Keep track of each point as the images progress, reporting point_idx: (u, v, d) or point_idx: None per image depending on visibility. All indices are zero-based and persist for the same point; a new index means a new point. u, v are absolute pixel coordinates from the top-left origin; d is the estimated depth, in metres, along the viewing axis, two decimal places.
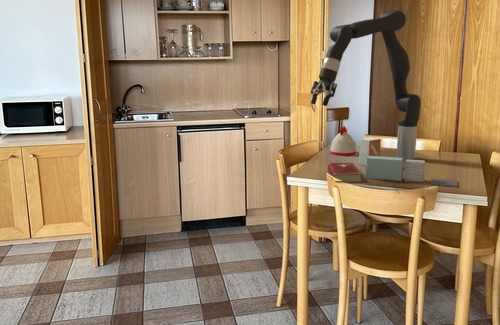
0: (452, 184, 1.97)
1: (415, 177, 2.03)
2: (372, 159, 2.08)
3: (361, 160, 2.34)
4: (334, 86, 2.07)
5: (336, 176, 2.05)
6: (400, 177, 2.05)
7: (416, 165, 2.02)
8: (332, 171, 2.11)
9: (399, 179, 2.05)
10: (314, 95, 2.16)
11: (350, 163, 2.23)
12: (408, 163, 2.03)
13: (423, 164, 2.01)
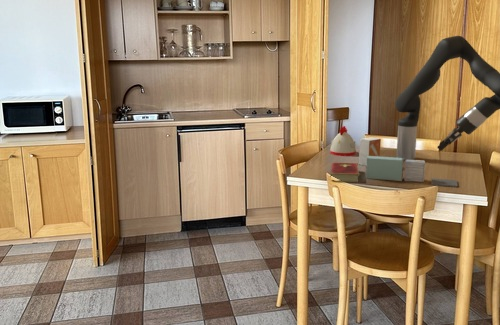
0: (452, 184, 1.97)
1: (415, 177, 2.03)
2: (372, 159, 2.08)
3: (361, 160, 2.34)
4: None
5: (333, 175, 2.06)
6: (400, 177, 2.05)
7: (416, 165, 2.02)
8: (331, 170, 2.12)
9: (399, 179, 2.05)
10: None
11: (354, 163, 2.22)
12: (408, 163, 2.03)
13: (423, 164, 2.01)
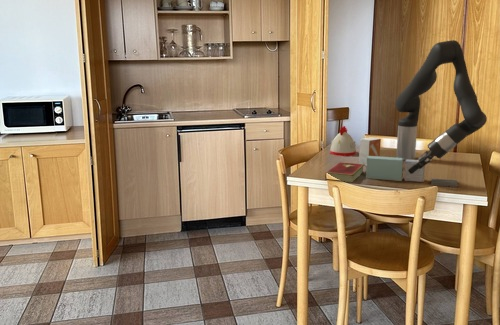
0: (452, 184, 1.97)
1: (414, 176, 2.03)
2: (372, 159, 2.08)
3: (361, 160, 2.34)
4: None
5: None
6: (400, 177, 2.05)
7: None
8: (330, 170, 2.13)
9: (399, 179, 2.05)
10: None
11: (359, 164, 2.20)
12: (408, 163, 2.03)
13: None
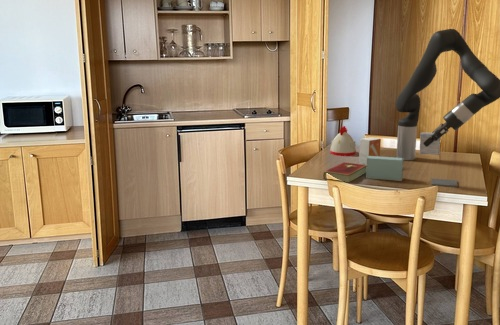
0: (452, 184, 1.97)
1: (430, 149, 1.98)
2: (372, 159, 2.08)
3: (361, 160, 2.34)
4: None
5: None
6: (400, 177, 2.05)
7: None
8: (329, 169, 2.14)
9: (399, 179, 2.05)
10: None
11: (362, 165, 2.19)
12: (423, 135, 1.98)
13: None
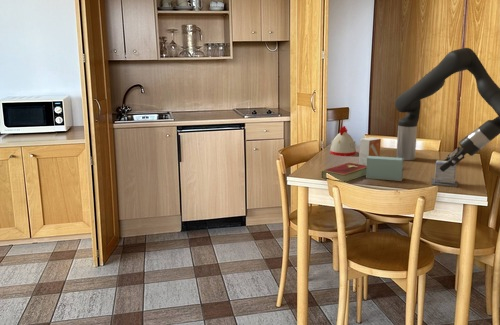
0: (452, 184, 1.97)
1: (445, 178, 1.98)
2: (372, 159, 2.08)
3: (361, 160, 2.34)
4: None
5: (324, 173, 2.11)
6: (400, 177, 2.05)
7: None
8: None
9: (399, 179, 2.05)
10: None
11: (365, 166, 2.17)
12: (438, 164, 1.98)
13: (454, 165, 1.96)
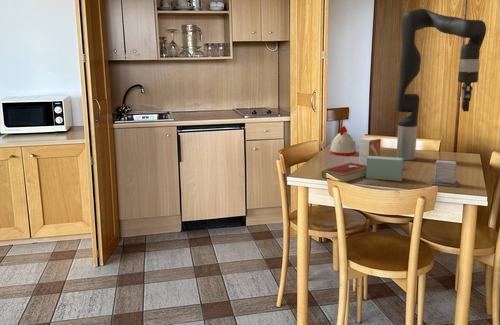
0: (452, 184, 1.97)
1: (445, 178, 1.98)
2: (372, 159, 2.08)
3: (361, 160, 2.34)
4: None
5: (324, 173, 2.11)
6: (400, 177, 2.05)
7: (447, 166, 1.97)
8: None
9: (399, 179, 2.05)
10: None
11: (366, 166, 2.17)
12: (438, 164, 1.98)
13: (454, 165, 1.96)
